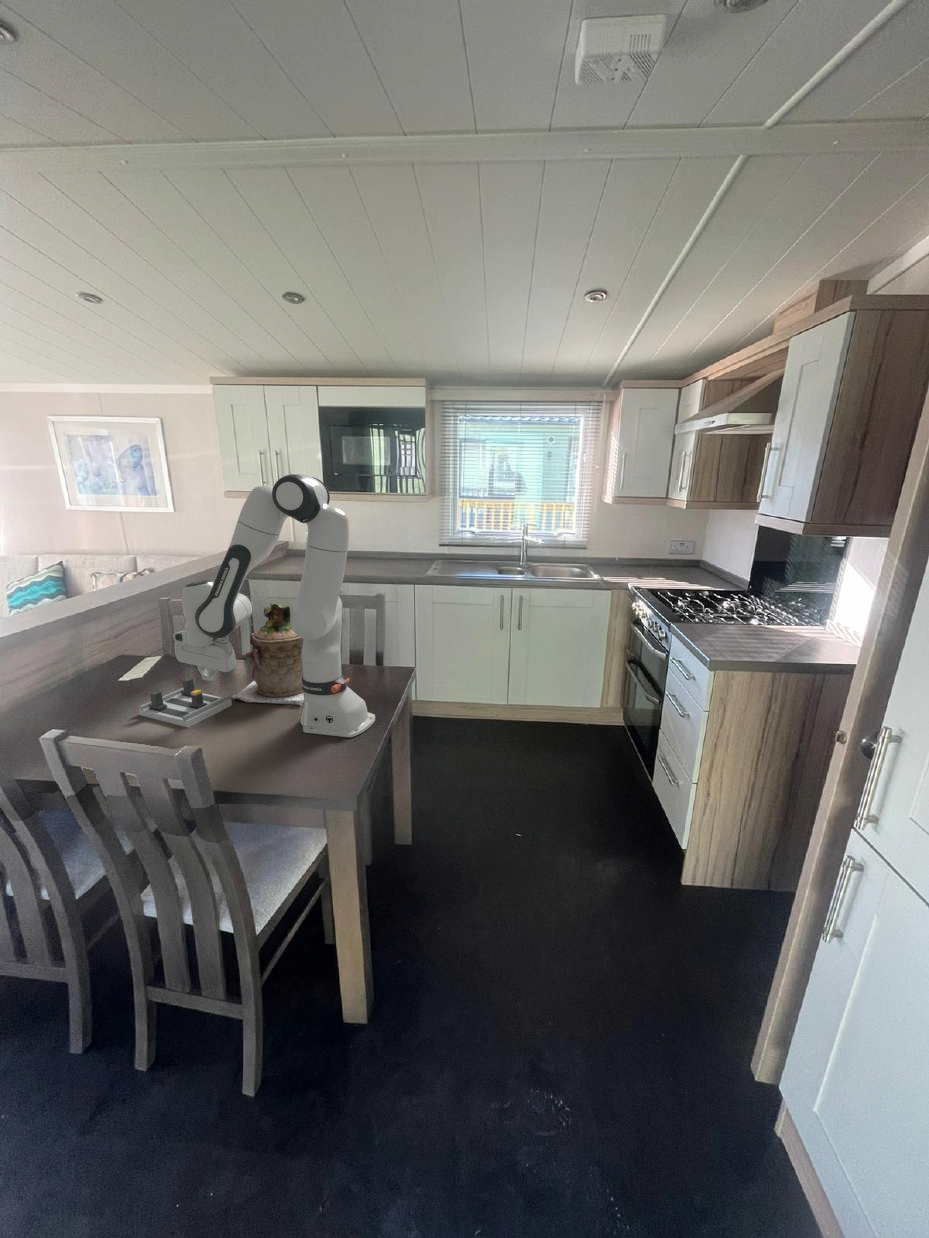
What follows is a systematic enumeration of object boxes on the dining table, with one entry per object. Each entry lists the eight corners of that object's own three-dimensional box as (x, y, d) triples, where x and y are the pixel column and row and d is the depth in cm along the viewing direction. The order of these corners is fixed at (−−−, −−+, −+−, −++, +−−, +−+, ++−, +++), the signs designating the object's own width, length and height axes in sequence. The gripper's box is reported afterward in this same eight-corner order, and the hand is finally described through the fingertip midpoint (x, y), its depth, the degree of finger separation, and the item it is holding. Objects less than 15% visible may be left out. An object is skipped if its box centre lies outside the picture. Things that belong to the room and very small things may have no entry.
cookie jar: (330, 678, 175) (326, 594, 167) (302, 707, 152) (295, 611, 143) (267, 674, 177) (259, 591, 169) (229, 702, 154) (218, 608, 145)
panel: (231, 705, 152) (230, 696, 151) (188, 727, 137) (186, 717, 137) (186, 694, 159) (184, 686, 158) (139, 715, 144) (138, 705, 143)
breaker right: (198, 693, 154) (196, 679, 153) (192, 695, 152) (190, 682, 151) (187, 690, 156) (185, 677, 154) (181, 693, 154) (178, 679, 152)
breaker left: (167, 707, 144) (164, 692, 143) (160, 710, 142) (158, 695, 141) (155, 704, 146) (153, 689, 145) (148, 707, 144) (146, 692, 143)
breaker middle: (207, 705, 146) (205, 691, 144) (201, 708, 144) (199, 694, 143) (195, 702, 147) (193, 688, 146) (189, 705, 145) (186, 691, 144)
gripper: (239, 638, 137) (243, 682, 140) (187, 628, 143) (192, 670, 147) (221, 644, 131) (226, 690, 135) (168, 633, 138) (174, 677, 141)
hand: (208, 679), depth 141 cm, fingers closed
